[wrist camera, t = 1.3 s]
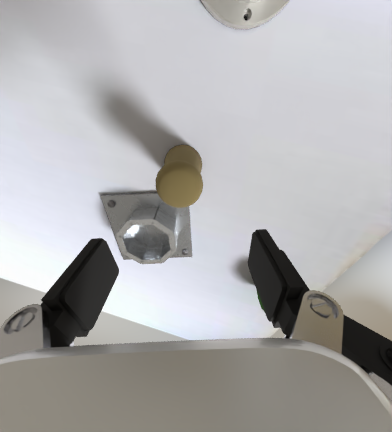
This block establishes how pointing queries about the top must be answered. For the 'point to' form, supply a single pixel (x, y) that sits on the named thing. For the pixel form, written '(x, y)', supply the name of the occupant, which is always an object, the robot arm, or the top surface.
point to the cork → (180, 177)
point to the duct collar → (148, 227)
